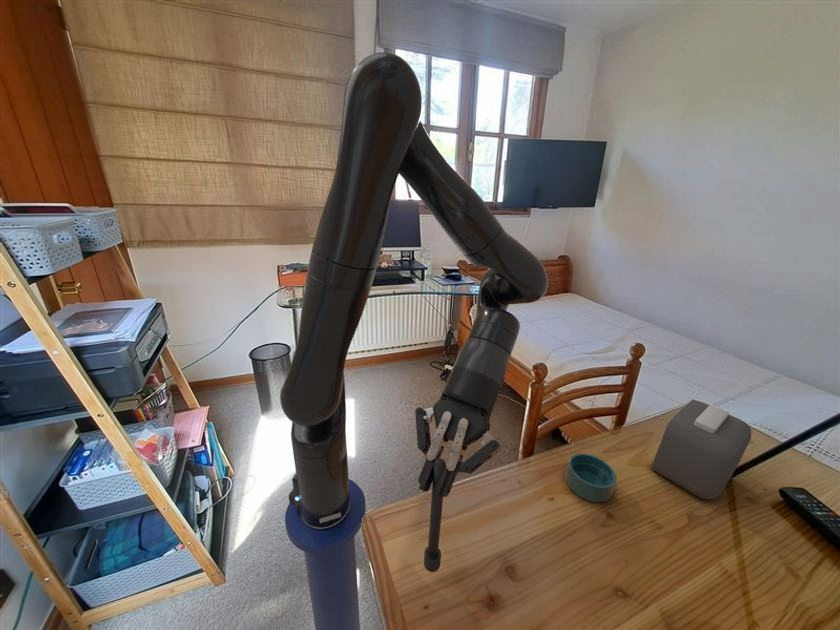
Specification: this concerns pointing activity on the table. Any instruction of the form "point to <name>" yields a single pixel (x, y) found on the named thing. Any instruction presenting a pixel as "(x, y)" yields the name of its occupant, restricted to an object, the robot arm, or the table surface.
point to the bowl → (590, 477)
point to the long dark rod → (434, 523)
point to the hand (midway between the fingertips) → (430, 493)
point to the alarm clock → (702, 449)
